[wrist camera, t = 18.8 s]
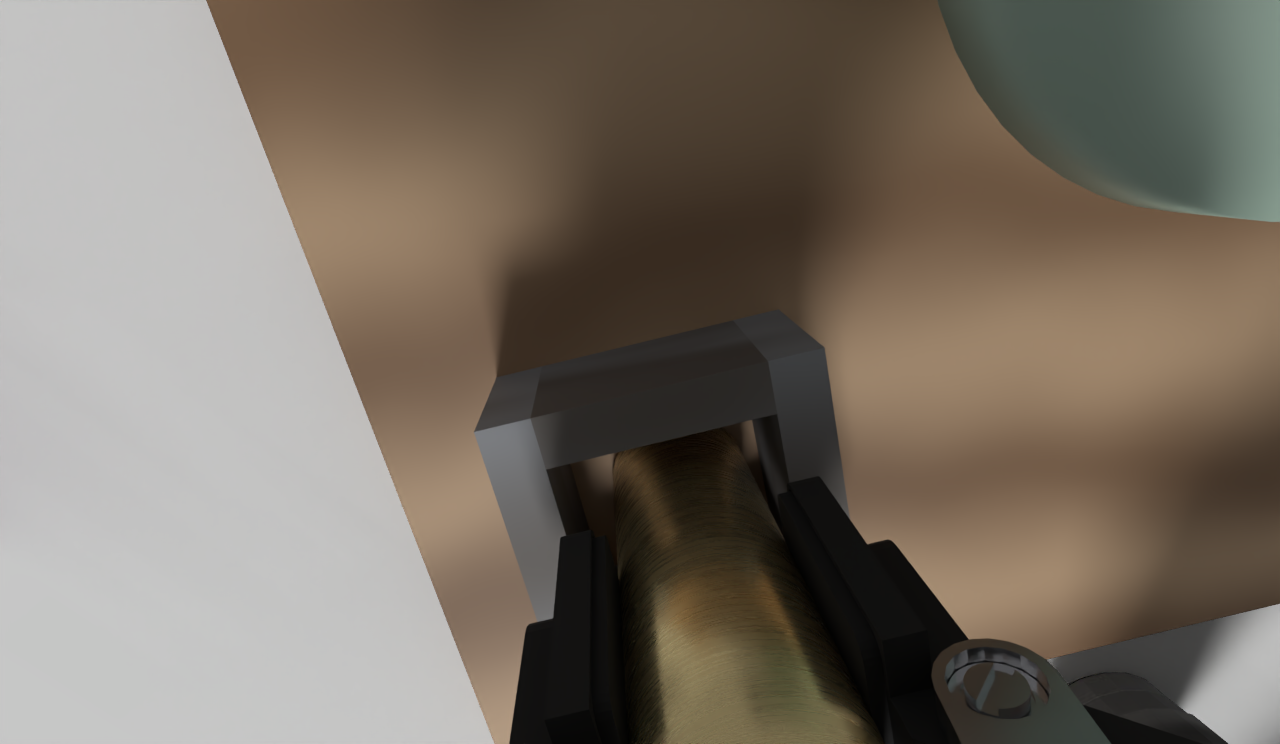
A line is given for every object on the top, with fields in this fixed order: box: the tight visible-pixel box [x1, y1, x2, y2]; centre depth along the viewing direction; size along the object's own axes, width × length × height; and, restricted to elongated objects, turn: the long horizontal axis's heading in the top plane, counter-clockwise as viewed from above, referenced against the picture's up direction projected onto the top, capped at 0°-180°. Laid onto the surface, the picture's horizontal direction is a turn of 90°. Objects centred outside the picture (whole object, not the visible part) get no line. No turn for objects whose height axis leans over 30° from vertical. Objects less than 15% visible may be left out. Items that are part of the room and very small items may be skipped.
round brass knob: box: [613, 427, 885, 744], centre depth 9 cm, size 4×4×13 cm
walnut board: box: [206, 0, 1280, 744], centre depth 13 cm, size 24×22×5 cm
